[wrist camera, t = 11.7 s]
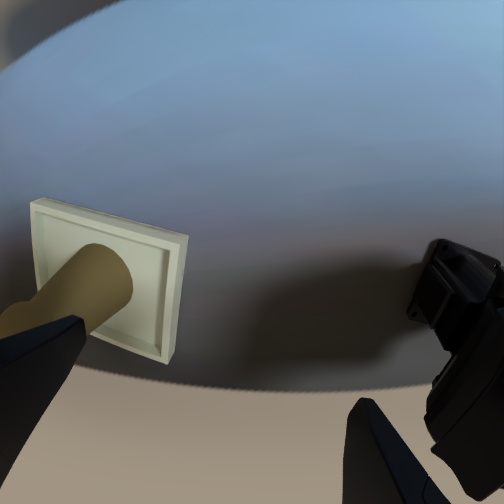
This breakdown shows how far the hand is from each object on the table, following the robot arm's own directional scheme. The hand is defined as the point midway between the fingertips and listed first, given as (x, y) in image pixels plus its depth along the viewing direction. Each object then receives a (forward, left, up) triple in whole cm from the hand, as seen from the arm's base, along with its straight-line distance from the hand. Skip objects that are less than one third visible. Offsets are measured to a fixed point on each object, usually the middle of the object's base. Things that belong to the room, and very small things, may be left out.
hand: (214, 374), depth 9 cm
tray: (+12, +7, -13) cm, 19 cm away
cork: (+12, +7, -13) cm, 19 cm away
